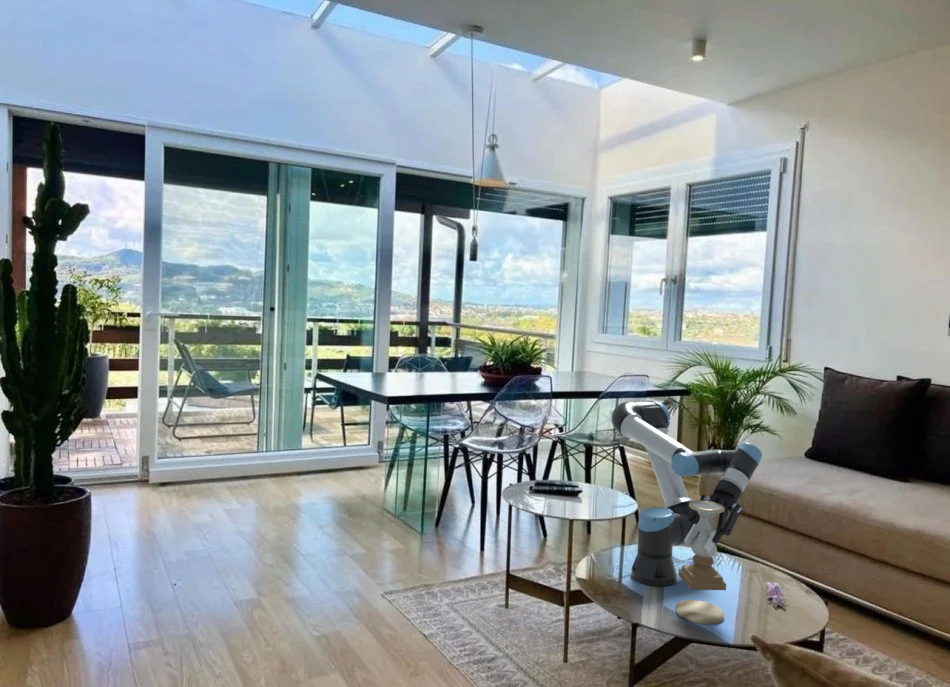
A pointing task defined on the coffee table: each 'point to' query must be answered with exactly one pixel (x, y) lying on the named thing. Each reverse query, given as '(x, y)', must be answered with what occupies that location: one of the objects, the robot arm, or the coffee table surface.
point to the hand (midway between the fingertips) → (696, 547)
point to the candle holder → (703, 551)
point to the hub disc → (699, 612)
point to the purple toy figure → (775, 594)
